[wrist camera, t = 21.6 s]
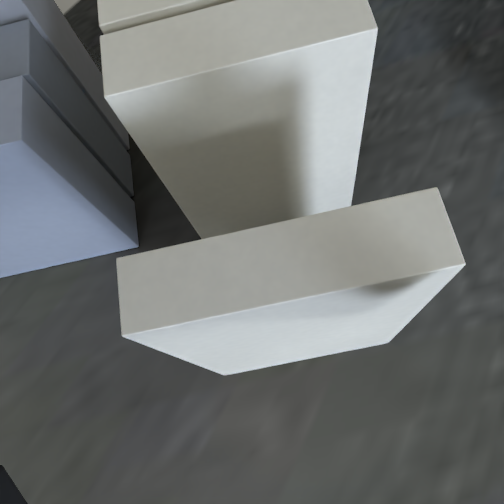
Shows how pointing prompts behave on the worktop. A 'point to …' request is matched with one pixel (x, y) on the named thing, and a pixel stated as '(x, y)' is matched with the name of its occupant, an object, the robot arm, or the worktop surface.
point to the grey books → (57, 147)
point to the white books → (242, 101)
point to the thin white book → (291, 285)
